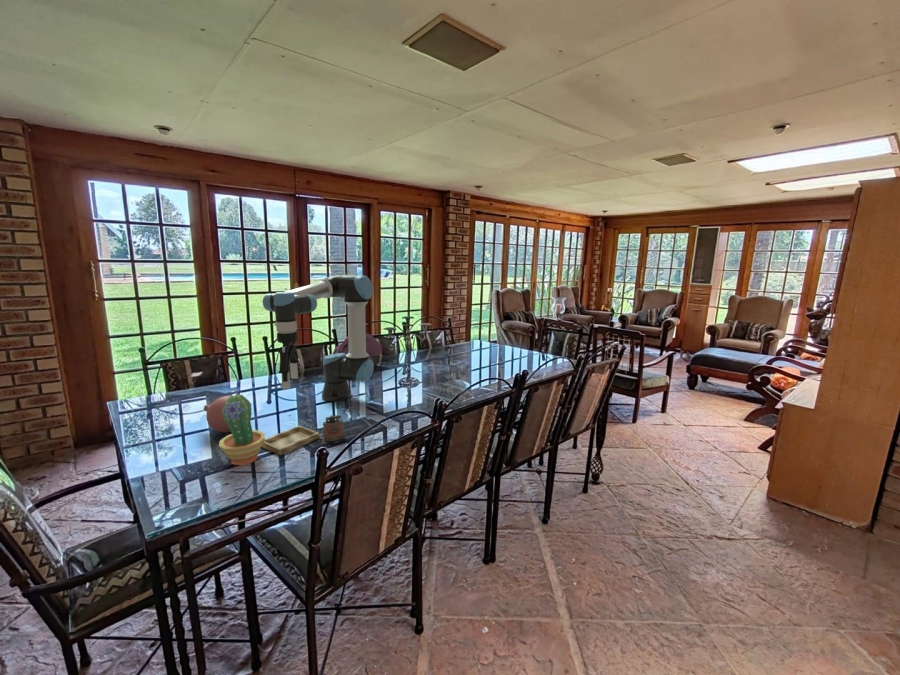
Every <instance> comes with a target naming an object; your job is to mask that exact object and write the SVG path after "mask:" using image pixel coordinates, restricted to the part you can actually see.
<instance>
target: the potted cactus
mask: <svg viewBox="0 0 900 675" xmlns="http://www.w3.org/2000/svg"><path fill="white" fill-rule="evenodd" d="M229 396H230V397H229V398H228V400H227V402H226V403H225V405H224V407H223V409H222V413H223V416H224V421H225V422H226V423H227V425H228V426H229V428H230V430H231V432H230V433H231V434H228V435H226V436H225V437H223V438H222V439H220V440H219V442H218V443H219V444H218V447H219V449H220V450H222V451H223V453H224V455H225V456H226V457H227V458H229V460H231V461H230V463H231V464H233V466H243V465H249V464H251V463H253V462H255V461H256V460H257V459H258V457H259V455H258V454H259V453H260V451H261V448H262V447H261V446H262V443H263V442H264V440H265V439H266V433H265V432H263V431H261V430H253V428H252V423H251V419H252V404H251V401H250V400H249V399H248V398H246V396H244V395H243V393H242V394H238V393H236V394H235V395H233V394H231V395H229Z"/></svg>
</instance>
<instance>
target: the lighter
mask: <svg viewBox="0 0 900 675" xmlns="http://www.w3.org/2000/svg"><path fill="white" fill-rule="evenodd" d="M322 426H323V441H324V442H331V441H333V442H334V441H337V440H341V439H344V438H345V434H344V419H342V415H341V414H337V415H332V414H331V415H330V416H325V421H323V422H322Z"/></svg>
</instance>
